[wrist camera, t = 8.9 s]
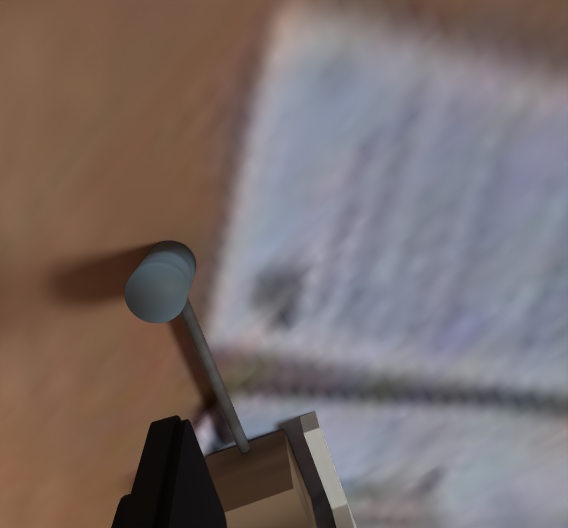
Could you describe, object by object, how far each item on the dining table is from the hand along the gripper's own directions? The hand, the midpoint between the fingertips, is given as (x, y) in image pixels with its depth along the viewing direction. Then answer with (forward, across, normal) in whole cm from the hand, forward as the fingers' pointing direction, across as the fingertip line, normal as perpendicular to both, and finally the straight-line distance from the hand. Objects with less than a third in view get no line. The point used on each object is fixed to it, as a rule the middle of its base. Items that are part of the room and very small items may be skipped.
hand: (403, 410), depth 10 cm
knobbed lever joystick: (+21, +8, +11) cm, 24 cm away
